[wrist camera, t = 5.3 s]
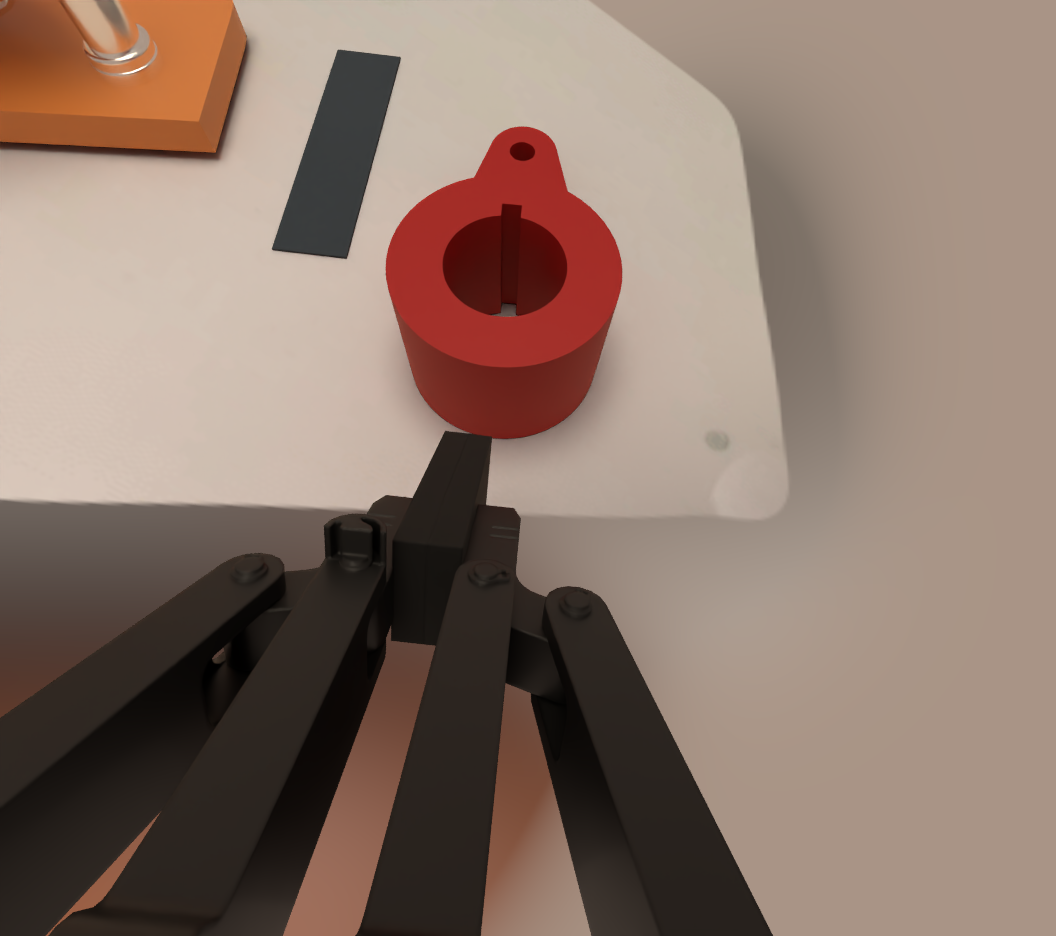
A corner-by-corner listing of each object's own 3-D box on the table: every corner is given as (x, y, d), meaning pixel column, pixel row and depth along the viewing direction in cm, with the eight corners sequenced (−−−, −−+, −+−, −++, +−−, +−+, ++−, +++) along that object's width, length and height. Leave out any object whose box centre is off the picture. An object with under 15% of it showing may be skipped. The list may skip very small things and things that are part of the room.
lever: (591, 447, 27) (619, 378, 21) (397, 429, 27) (366, 355, 21) (603, 168, 33) (627, 52, 27) (445, 153, 33) (433, 32, 27)
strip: (400, 58, 36) (400, 56, 36) (346, 258, 30) (346, 257, 30) (338, 50, 36) (337, 49, 36) (272, 249, 30) (271, 248, 30)
